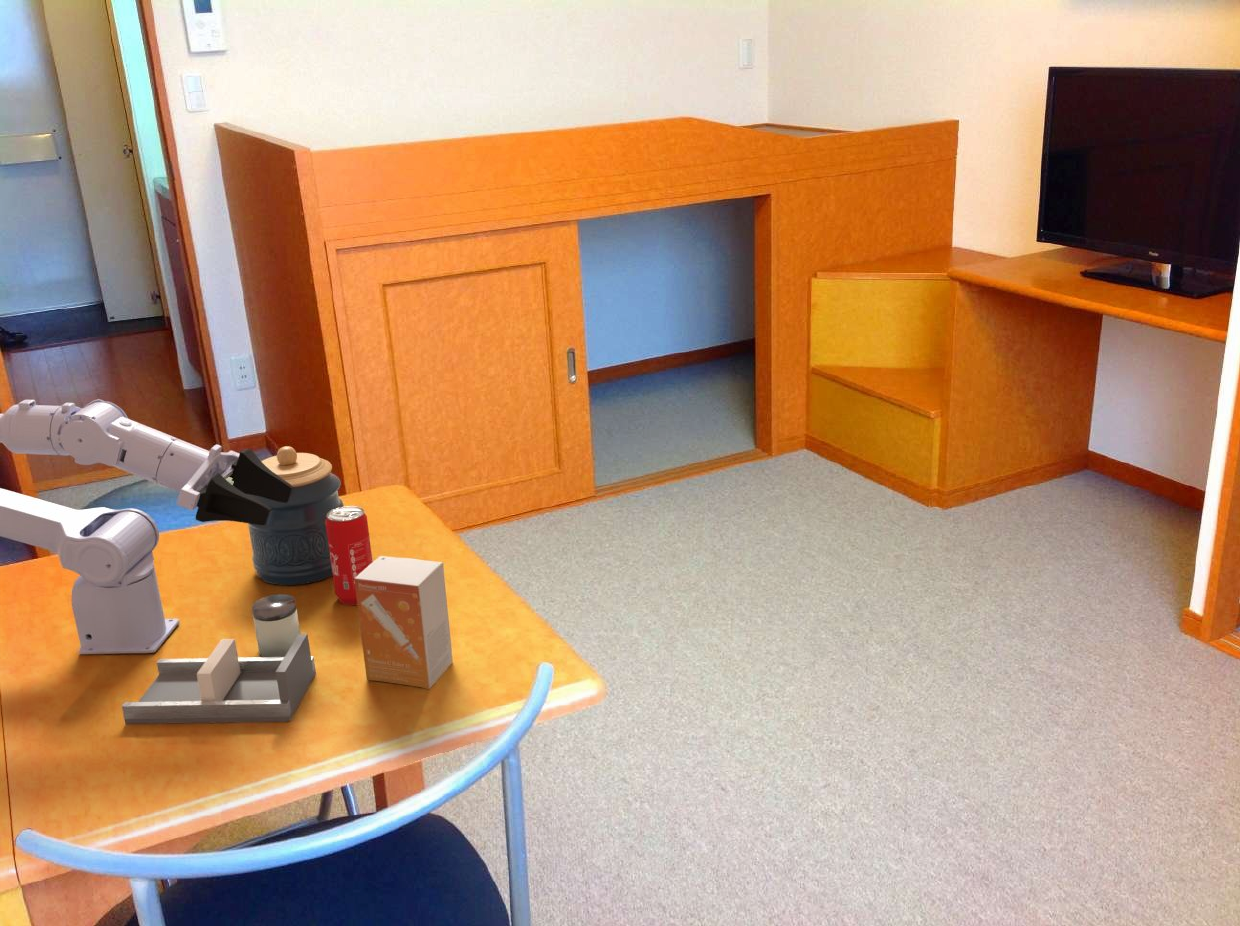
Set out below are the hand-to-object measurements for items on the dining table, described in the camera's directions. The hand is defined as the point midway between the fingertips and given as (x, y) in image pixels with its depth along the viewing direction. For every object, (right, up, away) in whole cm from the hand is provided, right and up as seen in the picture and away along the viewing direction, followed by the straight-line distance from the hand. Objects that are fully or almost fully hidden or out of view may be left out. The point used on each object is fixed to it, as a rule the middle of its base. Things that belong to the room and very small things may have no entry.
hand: (279, 505), depth 135 cm
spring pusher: (-4, -21, -6) cm, 22 cm away
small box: (+16, -19, -2) cm, 25 cm away
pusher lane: (-4, -21, -6) cm, 22 cm away
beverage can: (+5, -13, +16) cm, 21 cm away
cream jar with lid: (-1, -17, +4) cm, 18 cm away
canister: (-4, -10, +26) cm, 28 cm away
